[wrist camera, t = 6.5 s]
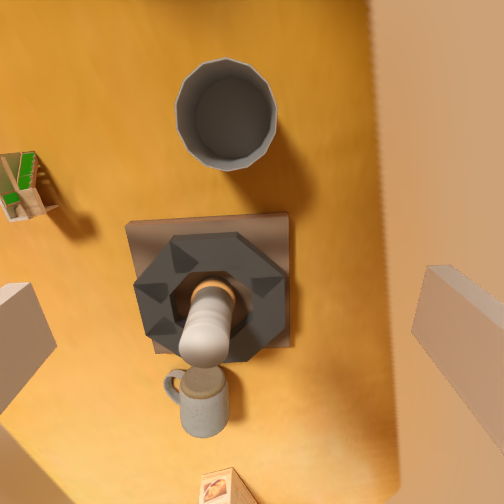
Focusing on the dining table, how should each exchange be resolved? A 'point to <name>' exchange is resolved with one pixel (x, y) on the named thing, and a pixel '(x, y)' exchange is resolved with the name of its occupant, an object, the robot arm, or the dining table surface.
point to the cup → (226, 114)
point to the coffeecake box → (224, 489)
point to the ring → (213, 259)
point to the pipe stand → (213, 280)
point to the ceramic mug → (201, 399)
